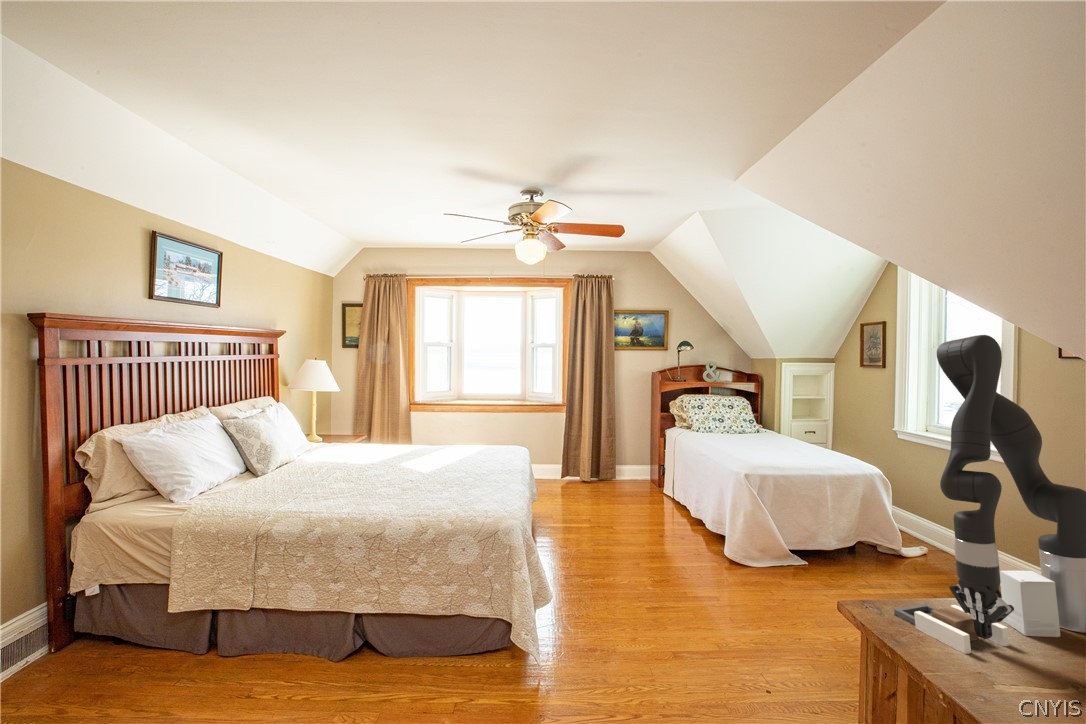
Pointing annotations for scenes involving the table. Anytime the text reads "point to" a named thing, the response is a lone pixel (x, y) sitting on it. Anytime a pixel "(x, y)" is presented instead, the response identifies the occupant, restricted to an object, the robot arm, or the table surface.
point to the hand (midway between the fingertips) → (983, 637)
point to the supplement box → (1030, 603)
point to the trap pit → (908, 612)
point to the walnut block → (956, 620)
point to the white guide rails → (956, 632)
